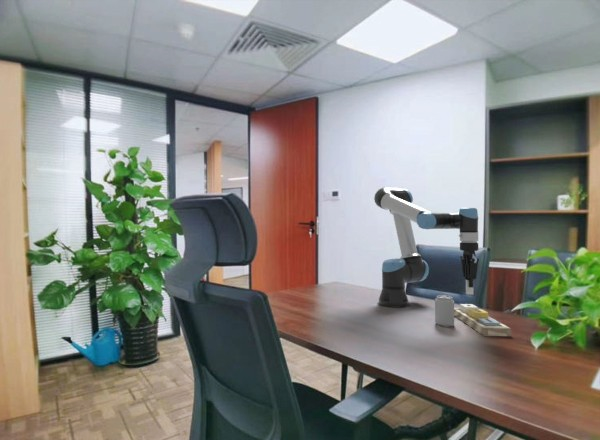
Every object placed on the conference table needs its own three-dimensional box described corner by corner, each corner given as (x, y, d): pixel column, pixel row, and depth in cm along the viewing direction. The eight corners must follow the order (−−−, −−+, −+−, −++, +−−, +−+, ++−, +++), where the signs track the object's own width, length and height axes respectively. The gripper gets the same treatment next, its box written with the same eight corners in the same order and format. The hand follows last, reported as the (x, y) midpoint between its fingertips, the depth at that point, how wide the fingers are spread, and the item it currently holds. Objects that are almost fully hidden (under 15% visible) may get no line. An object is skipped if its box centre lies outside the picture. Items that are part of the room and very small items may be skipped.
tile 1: (459, 310, 155) (459, 303, 155) (472, 310, 155) (472, 303, 155) (465, 313, 149) (465, 306, 149) (478, 314, 149) (478, 306, 149)
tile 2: (468, 315, 146) (468, 308, 146) (481, 316, 146) (481, 308, 146) (474, 319, 141) (474, 312, 141) (488, 319, 140) (488, 312, 140)
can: (434, 325, 141) (434, 297, 141) (435, 320, 147) (436, 293, 147) (453, 328, 137) (453, 299, 137) (454, 323, 144) (454, 295, 144)
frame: (451, 313, 158) (451, 307, 158) (473, 314, 158) (473, 307, 158) (484, 335, 128) (484, 328, 128) (510, 336, 128) (510, 328, 128)
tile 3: (478, 325, 137) (478, 317, 137) (492, 325, 137) (492, 318, 137) (485, 330, 132) (485, 322, 132) (499, 330, 132) (499, 322, 132)
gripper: (454, 241, 159) (455, 291, 158) (467, 242, 146) (467, 297, 145) (470, 241, 158) (471, 291, 158) (484, 242, 145) (485, 297, 145)
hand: (469, 294), depth 152 cm, fingers closed
